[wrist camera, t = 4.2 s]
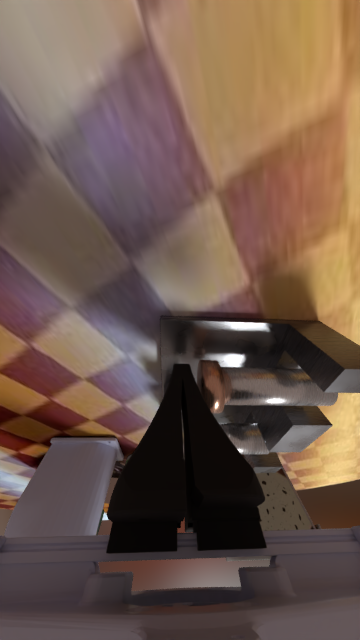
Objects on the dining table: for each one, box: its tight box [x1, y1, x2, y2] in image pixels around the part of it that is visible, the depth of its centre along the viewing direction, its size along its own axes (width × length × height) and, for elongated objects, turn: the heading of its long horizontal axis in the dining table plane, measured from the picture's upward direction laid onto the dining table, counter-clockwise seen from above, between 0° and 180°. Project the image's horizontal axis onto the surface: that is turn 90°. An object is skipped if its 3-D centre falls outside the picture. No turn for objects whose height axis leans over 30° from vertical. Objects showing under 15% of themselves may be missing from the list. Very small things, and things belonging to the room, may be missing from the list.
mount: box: [160, 316, 360, 473], centre depth 14 cm, size 13×17×5 cm
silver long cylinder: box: [182, 420, 269, 454], centre depth 16 cm, size 9×4×4 cm, turn 87°
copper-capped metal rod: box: [197, 360, 338, 413], centre depth 11 cm, size 9×4×4 cm, turn 87°
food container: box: [226, 454, 321, 561], centre depth 22 cm, size 12×6×10 cm, turn 99°
